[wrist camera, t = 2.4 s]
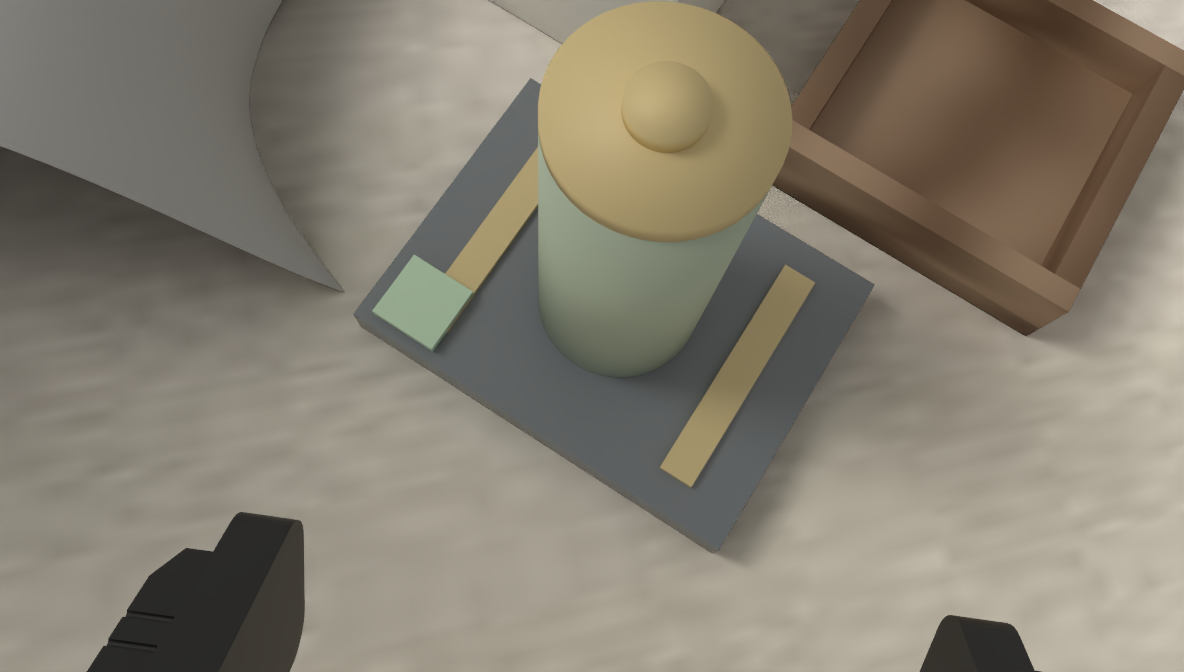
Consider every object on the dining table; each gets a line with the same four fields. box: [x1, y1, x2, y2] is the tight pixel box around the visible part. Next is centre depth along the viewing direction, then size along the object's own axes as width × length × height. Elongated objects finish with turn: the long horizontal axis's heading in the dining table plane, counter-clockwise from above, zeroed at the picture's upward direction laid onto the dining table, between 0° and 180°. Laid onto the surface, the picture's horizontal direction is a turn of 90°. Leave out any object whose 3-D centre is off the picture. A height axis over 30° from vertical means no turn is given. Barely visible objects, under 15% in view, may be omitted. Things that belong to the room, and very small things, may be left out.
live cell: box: [538, 1, 792, 377], centre depth 23 cm, size 5×5×11 cm
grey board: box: [354, 78, 874, 553], centre depth 29 cm, size 12×9×2 cm
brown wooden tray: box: [772, 0, 1184, 336], centre depth 30 cm, size 10×10×2 cm
